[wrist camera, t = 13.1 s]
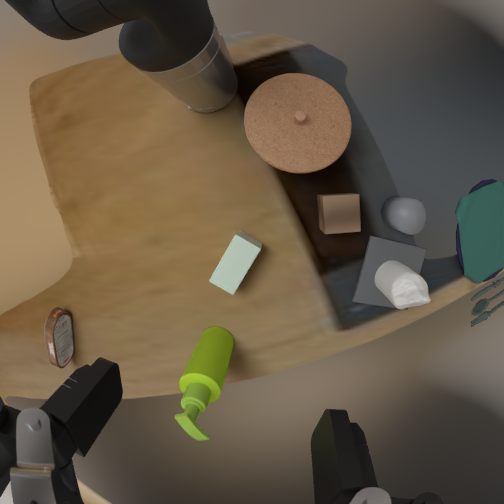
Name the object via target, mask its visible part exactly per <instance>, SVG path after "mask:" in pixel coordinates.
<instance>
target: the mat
mask: <svg viewBox="0 0 504 504" xmlns="http://www.w3.org/2000/svg"><path fill="white" fill-rule="evenodd" d="M425 253H426V249H424V248H420V247H417V246H413V245H409V244H404V243H400V242H396V241H392V240H388V239H384V238H379V237H375V236H371V235H370V237H369V242H368V246H367V250H366V254H365V257H364V261H363V265H362V269H361V272H360V276H359V279H358V283H357V286H356V289H355V293H354V296H353V299H352V301H353V302H358V303H364V304H371V305H378V306H385V307H392V308H396V307H395V306H394V305H393V304H392V303H391V302H390V301H389V299H388V298H387V297H386V296H385V295H384V294H383V293H382V292H381V291H380V290H379V289H378V288H377V287H376V285H375V274H376V272H377V270H378V268H379V267H380V266H381V265H382V264H383V263H385V262H387V261H389V260H394V261H398V262H400V263H401V264H404V265H406V266H408V267H409V268H410V269H412V270H413V271H414V272H415V273H417V274H418V275H419V274H420V271H421V268H422V264H423V261H424V257H425ZM404 309H406V310H407V309H408V308H404Z"/></svg>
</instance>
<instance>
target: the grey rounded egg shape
mask: <svg viewBox="0 0 504 504" xmlns="http://www.w3.org/2000/svg"><path fill="white" fill-rule="evenodd" d="M381 215H382V219H383V221H384V222H385V224H386V225H388V226H389V227H391V228H394V229H396V230H399V231H401V232H403V233H406V234H408V235H414V234H417V233H419V232H420V231H421V230H422V229H423V227H424V225H425V223H426V210H425V208H424V206H423V204H422V203H421V202H420V201H418V200H416V199H410V198H404V197H397V196H393V197H390V198H388V199H387V200H386V201H385V202H384V204H383V206H382V210H381Z"/></svg>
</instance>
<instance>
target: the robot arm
mask: <svg viewBox="0 0 504 504" xmlns="http://www.w3.org/2000/svg"><path fill="white" fill-rule="evenodd" d="M5 1H6V2H7V3H8V4H9V5H10V6H11V7H13V8H14V9H15V10H16V11H17V12H18V13H19V14H20V15H21V16H22V17H23V18H24V19H25V20H27V21H28V22H29V23H30V24H31V25H33V26H34V27H35V28H36V29H38V30H39V31H41V32H43V33H44V34H46V35H48V36H50V37H53V38H56V39H61V40H72V39H77V38H81V37H85V36H88V35H90V34H93V33H96V32H99V31H102V30H104V29H107V28H110V27H113V26H116V25H119V24H122V23H124V25H123V27H122V29H121V32H120V36H119V48H120V51H121V53H122V55H123V56H124V58H125V59H126V60H128V61H129V62H130V63H131V64H133V65H134V66H135V67H137V68H138V69H140V70H141V71H142V72H144V73H145V74H146V75H148V76H149V77H150V78H152V79H153V80H154V81H156V82H157V83H158V84H159V85H161V86H162V87H163V88H165V89H166V90H167V91H168V92H170V93H171V94H172V95H173V96H175V97H176V98H177V99H178V100H180V101H181V102H182V103H183V104H184V105H186V106H187V107H188V108H190V109H191V110H193V111H196V112H201V113H209V112H214V111H217V110H219V109H221V108H223V107H225V106H226V105H227V104H228V103H229V102H231V100H232V99H233V98H234V96H235V94H236V92H237V88H238V79H237V76H236V73H235V71H234V68H233V62H232V60H231V57H230V55H229V52H228V50H227V47H226V45H225V42H224V40H223V37H222V36H221V35H220V34H219V32H218V29H217V27H216V25H215V22H214V20H213V17H212V15H211V13H210V10H209V6H208V3H207V0H5ZM122 394H123V389H122V383H121V377H120V370H119V366H118V364H117V363H114V362H111V361H109V360H106V359H104V358H101V357H100V358H98V359H97V360H96V361H95V362H94V363H93V364H92V365H91V366H89V365H85V366H83V367H81V368H79V369H76V370H75V371H74V373H73V374H72V375H71V376H70V377H69V379H67V380H66V381H65V382H64V383H63V385H61V386H60V387H59V388H58V389H57V391H56V392H55V393H54V394H53V395H52V396H51V397H50V398H49V399H48V401H46V402H45V404H44V405H43V406H42V407H41V408H39V409H38V408H27V409H24V410H23V411H20V410H17V409H14V408H12V407H9V406H7V405H5V404H4V402H3V400H2V399H1V397H0V497H1V495H2V494H3V491H4V490H5V488H6V487H7V485H8V484H9V482H10V480H11V489H12V496H13V502H14V504H84V502H83V500H82V498H81V494H80V491H79V487H78V483H77V479H76V475H75V470H74V465H73V460H72V457H73V455H74V453H77V454H79V455H81V456H82V457H85V456H86V454H87V452H88V451H89V449H90V448H91V446H92V445H93V443H94V441H95V440H96V438H97V437H98V435H99V434H100V432H101V431H102V429H103V428H104V426H105V424H106V423H107V422H108V420H109V418H110V417H111V415H112V414H113V412H114V411H115V409H116V408H117V406H118V405H119V403H120V401H121V399H122ZM366 444H367V442H366V438H365V435H364V432H363V430H362V429H361V428H360V427H359V425H358V424H357V423H350V421H349V417H348V413H347V411H346V410H336V409H335V410H334V409H326V410H325V411H324V413H323V415H322V417H321V419H320V421H319V423H318V424H317V426H316V428H315V430H314V432H313V434H312V439H311V453H312V466H313V482H314V499H315V504H443V502H442V500H441V498H440V497H439V496H438V495H436V494H434V493H430V492H426V493H423V494H420V495H419V496H417V497H416V498H415V499H403V498H393V497H390V496H389V495H388V493H386V492H385V491H384V490H382V489H380V488H379V487H378V485H377V481H376V477H375V473H374V469H373V465H372V461H371V457H370V454H369V449H368V446H367V445H366Z"/></svg>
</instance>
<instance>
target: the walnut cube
mask: <svg viewBox="0 0 504 504" xmlns="http://www.w3.org/2000/svg"><path fill="white" fill-rule="evenodd" d="M317 200H318V214H319V228H320V229H321V230H322V231H323V232H324V233H325V234H334V233H347V232H361V226H360V203H359V194H353V193H339V194H321V195H317Z"/></svg>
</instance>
